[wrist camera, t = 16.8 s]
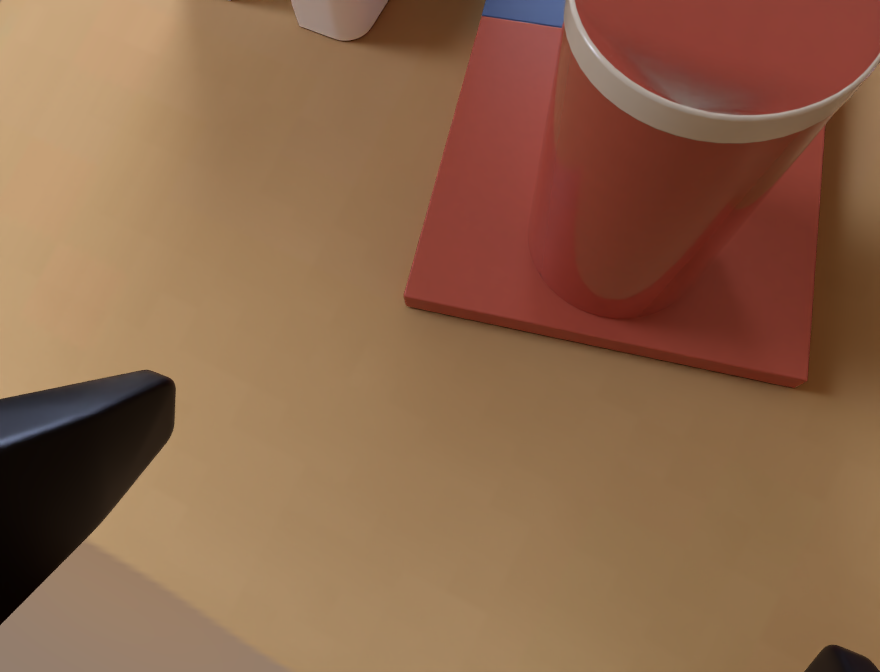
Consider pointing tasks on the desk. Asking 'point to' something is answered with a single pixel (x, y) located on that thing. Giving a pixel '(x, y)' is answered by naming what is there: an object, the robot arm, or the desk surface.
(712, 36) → the red tumbler
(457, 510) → the desk surface
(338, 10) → the white slotted bracket
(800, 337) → the board
